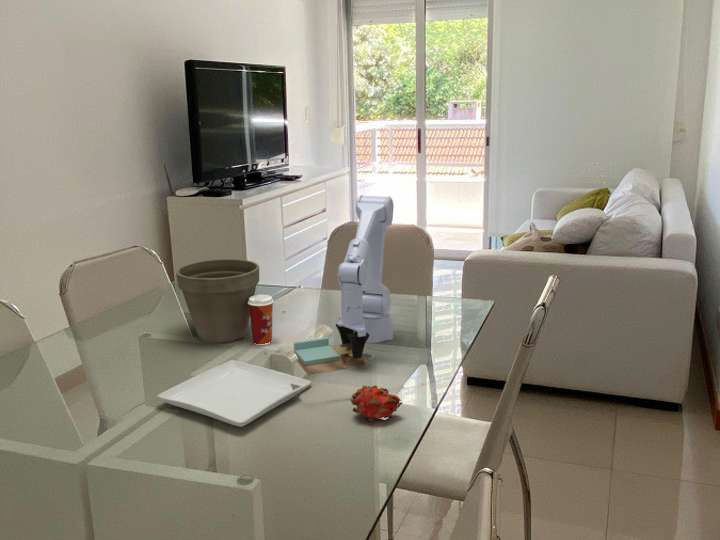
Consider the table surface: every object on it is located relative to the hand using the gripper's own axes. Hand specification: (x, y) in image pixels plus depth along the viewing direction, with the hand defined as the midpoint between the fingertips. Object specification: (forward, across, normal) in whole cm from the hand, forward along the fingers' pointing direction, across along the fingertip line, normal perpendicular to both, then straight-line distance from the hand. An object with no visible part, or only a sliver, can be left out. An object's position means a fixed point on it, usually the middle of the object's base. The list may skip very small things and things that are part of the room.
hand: (352, 353), depth 191 cm
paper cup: (+4, -28, -18) cm, 34 cm away
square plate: (+5, +8, -34) cm, 35 cm away
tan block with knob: (+2, 0, 0) cm, 2 cm away
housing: (+4, -4, -5) cm, 7 cm away
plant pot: (+4, -39, -28) cm, 48 cm away
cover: (+2, -7, -8) cm, 11 cm away
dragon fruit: (+4, +30, -6) cm, 31 cm away
